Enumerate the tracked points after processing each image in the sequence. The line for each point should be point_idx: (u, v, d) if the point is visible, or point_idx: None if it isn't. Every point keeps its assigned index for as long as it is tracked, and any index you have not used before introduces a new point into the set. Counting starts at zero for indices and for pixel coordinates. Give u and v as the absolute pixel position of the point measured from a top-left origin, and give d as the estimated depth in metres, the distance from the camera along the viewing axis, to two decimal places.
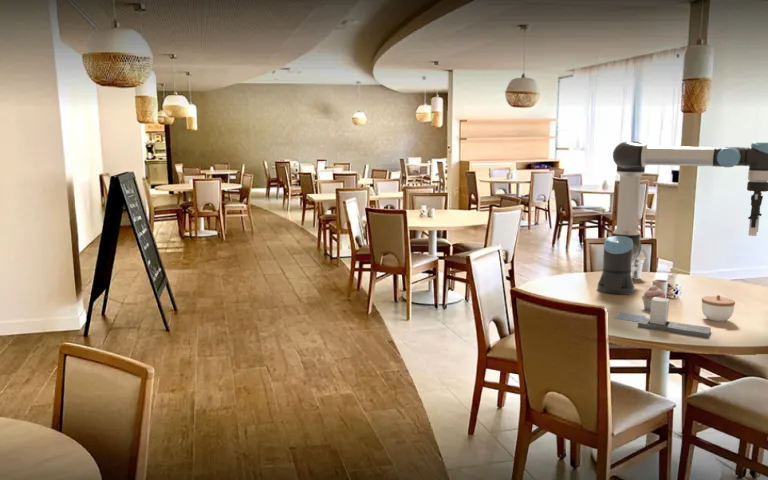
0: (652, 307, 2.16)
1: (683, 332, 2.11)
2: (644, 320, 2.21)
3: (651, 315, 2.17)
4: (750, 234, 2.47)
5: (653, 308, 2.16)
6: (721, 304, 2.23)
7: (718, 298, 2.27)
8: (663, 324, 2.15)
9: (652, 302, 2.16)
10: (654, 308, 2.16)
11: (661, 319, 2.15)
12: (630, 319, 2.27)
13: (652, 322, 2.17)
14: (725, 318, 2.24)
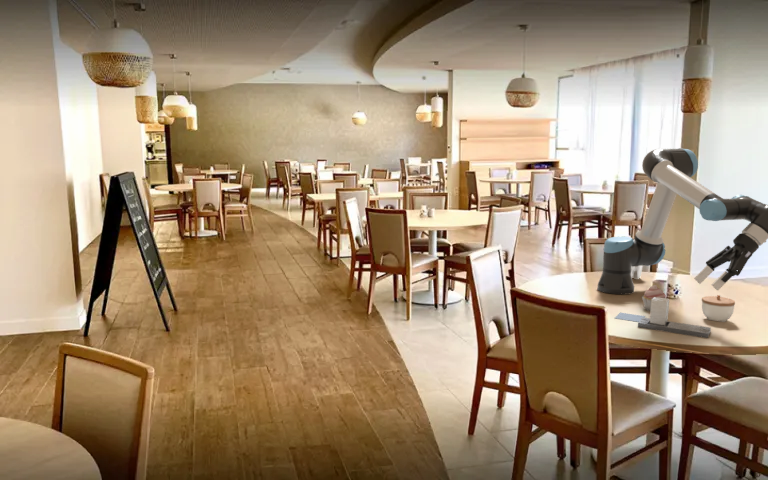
0: (652, 307, 2.16)
1: (683, 332, 2.11)
2: (644, 320, 2.21)
3: (651, 315, 2.17)
4: (714, 285, 2.10)
5: (653, 308, 2.16)
6: (721, 304, 2.23)
7: (718, 298, 2.27)
8: (663, 324, 2.15)
9: (652, 302, 2.16)
10: (654, 308, 2.16)
11: (661, 319, 2.15)
12: (630, 319, 2.27)
13: (652, 322, 2.17)
14: (725, 318, 2.24)
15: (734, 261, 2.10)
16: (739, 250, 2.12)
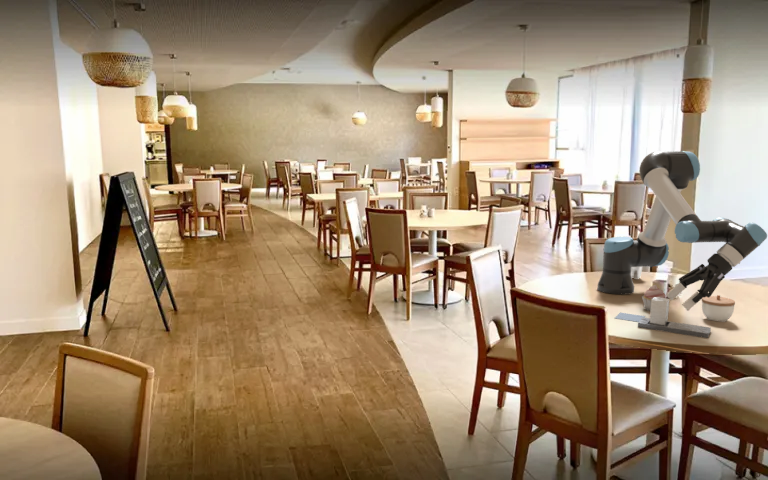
0: (652, 307, 2.16)
1: (683, 332, 2.11)
2: (644, 320, 2.21)
3: (651, 315, 2.17)
4: (685, 305, 2.09)
5: (653, 308, 2.16)
6: (721, 304, 2.23)
7: (718, 298, 2.27)
8: (663, 324, 2.15)
9: (652, 302, 2.16)
10: (654, 308, 2.16)
11: (661, 319, 2.15)
12: (630, 319, 2.27)
13: (652, 322, 2.17)
14: (725, 318, 2.24)
15: (706, 282, 2.09)
16: (712, 271, 2.11)
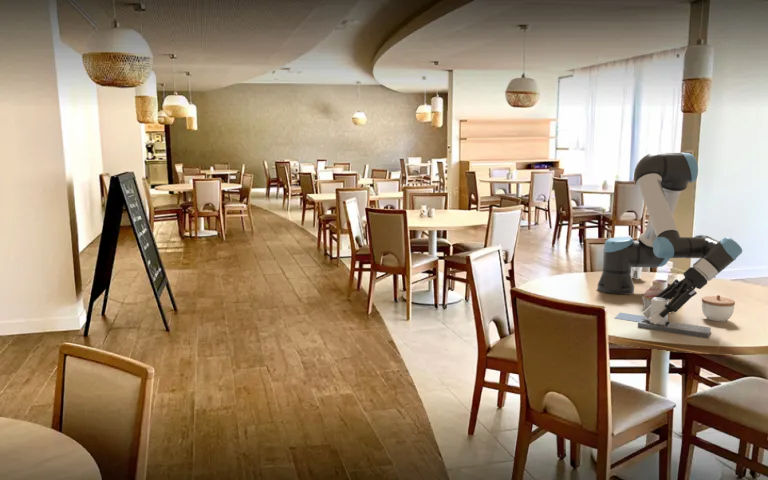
0: (652, 307, 2.16)
1: (683, 332, 2.11)
2: (644, 320, 2.21)
3: (651, 315, 2.17)
4: (652, 319, 2.14)
5: (653, 308, 2.16)
6: (721, 304, 2.23)
7: (718, 298, 2.27)
8: (663, 324, 2.15)
9: (652, 302, 2.16)
10: (654, 308, 2.16)
11: None
12: (630, 319, 2.27)
13: (652, 322, 2.17)
14: (725, 318, 2.24)
15: (677, 297, 2.13)
16: (688, 284, 2.13)
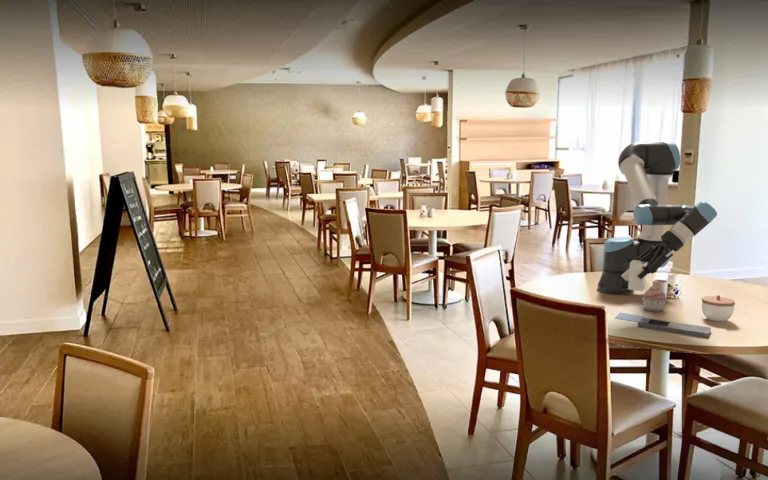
0: (631, 269, 2.24)
1: (683, 332, 2.11)
2: (644, 320, 2.21)
3: (630, 277, 2.25)
4: (630, 281, 2.22)
5: (631, 270, 2.24)
6: (721, 304, 2.23)
7: (718, 298, 2.27)
8: (641, 285, 2.23)
9: (631, 264, 2.24)
10: (633, 271, 2.24)
11: (639, 281, 2.23)
12: (630, 319, 2.27)
13: (631, 284, 2.25)
14: (725, 318, 2.24)
15: (654, 259, 2.21)
16: (665, 247, 2.21)
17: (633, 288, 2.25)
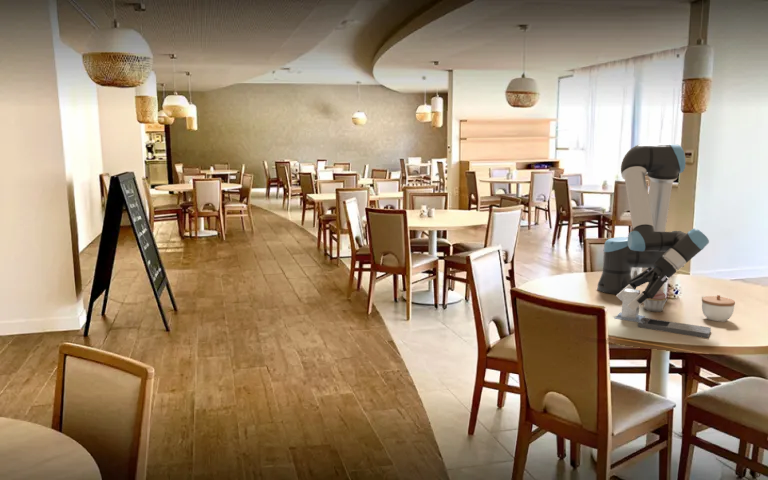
0: (624, 298, 2.28)
1: (683, 332, 2.11)
2: (644, 320, 2.21)
3: (623, 306, 2.29)
4: (630, 306, 2.23)
5: (624, 299, 2.28)
6: (721, 304, 2.23)
7: (718, 298, 2.27)
8: (634, 314, 2.27)
9: (624, 293, 2.28)
10: (626, 299, 2.28)
11: None
12: (630, 319, 2.27)
13: (624, 312, 2.29)
14: (725, 318, 2.24)
15: (651, 284, 2.23)
16: (657, 273, 2.25)
17: (626, 316, 2.29)
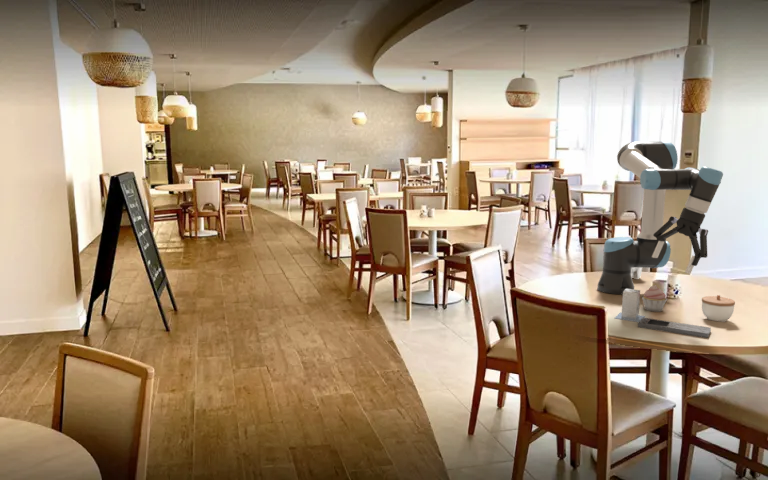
0: (624, 298, 2.28)
1: (683, 332, 2.11)
2: (644, 320, 2.21)
3: (623, 306, 2.29)
4: (688, 272, 2.19)
5: (624, 299, 2.28)
6: (721, 304, 2.23)
7: (718, 298, 2.27)
8: (634, 314, 2.27)
9: (624, 293, 2.28)
10: (626, 299, 2.28)
11: (632, 309, 2.27)
12: (630, 319, 2.27)
13: (624, 312, 2.29)
14: (725, 318, 2.24)
15: (695, 242, 2.18)
16: (693, 227, 2.18)
17: (626, 316, 2.29)
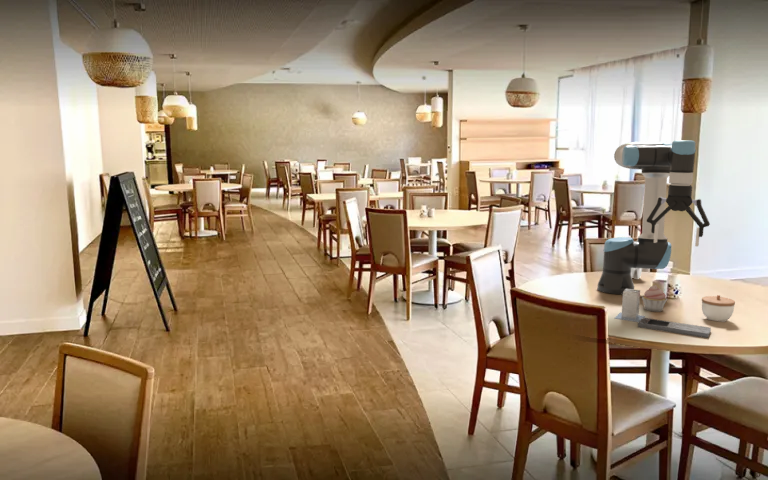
0: (624, 298, 2.28)
1: (683, 332, 2.11)
2: (644, 320, 2.21)
3: (623, 306, 2.29)
4: (697, 245, 2.18)
5: (624, 299, 2.28)
6: (721, 304, 2.23)
7: (718, 298, 2.27)
8: (634, 314, 2.27)
9: (624, 293, 2.28)
10: (626, 299, 2.28)
11: (632, 309, 2.27)
12: (630, 319, 2.27)
13: (624, 312, 2.29)
14: (725, 318, 2.24)
15: (694, 214, 2.17)
16: (686, 201, 2.17)
17: (626, 316, 2.29)
